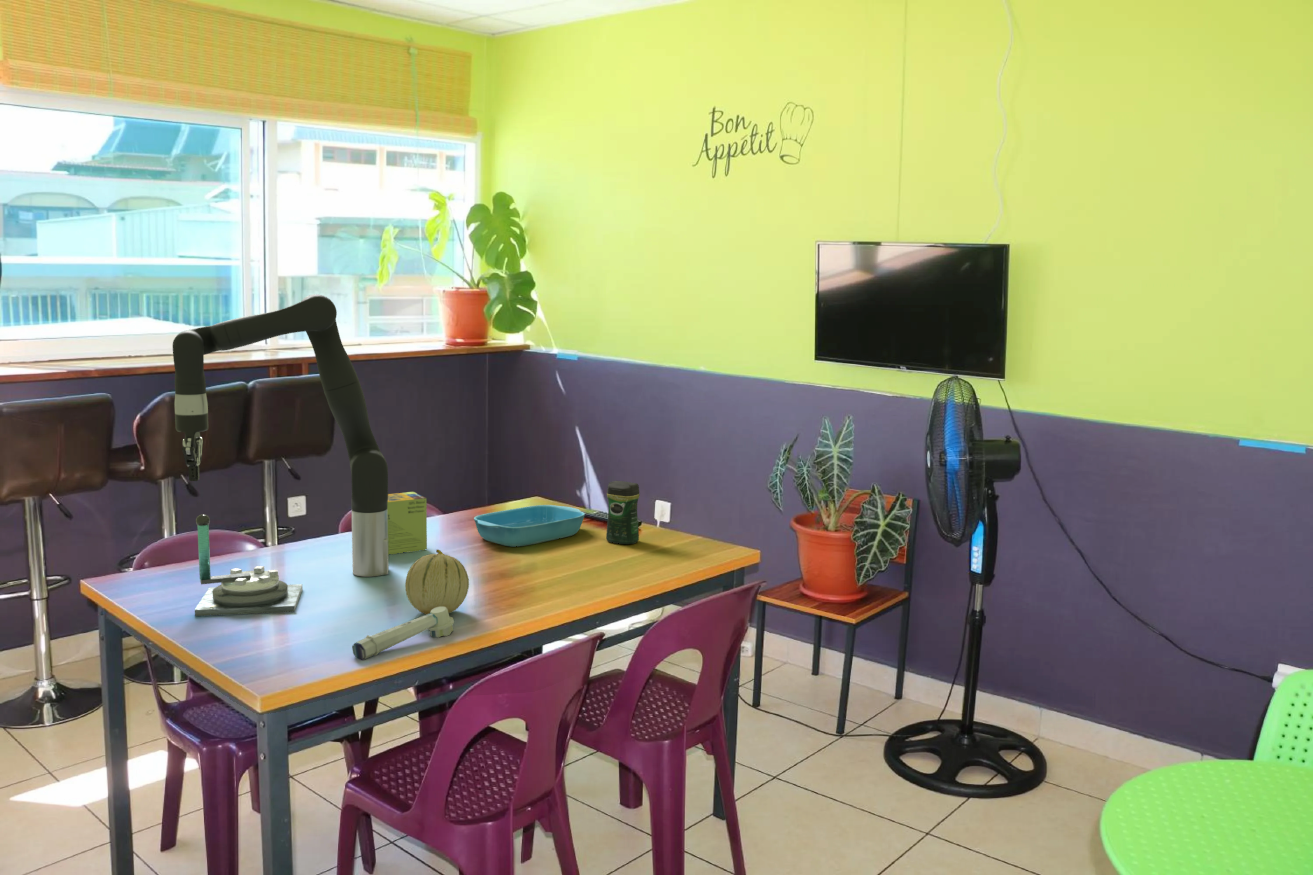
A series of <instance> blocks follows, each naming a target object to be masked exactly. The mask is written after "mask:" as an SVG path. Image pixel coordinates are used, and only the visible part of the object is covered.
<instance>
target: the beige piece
mask: <svg viewBox="0 0 1313 875" xmlns="http://www.w3.org/2000/svg"><path fill="white" fill-rule="evenodd" d="M454 623H455V621H454V617H451V616H450V613H448V609H447V608H446V607H436V608H434V609H432V610H431V611H430V614H424V615H422V616H419V617H417V618H415V619H411V620H408V621H406V622H404V623H401V624H398V625H396V626H392V627H390V628H388V629H386V630H383V631H382V630H381V631H380V632H378V633H375V634H371V635H370V634H369V635H368V634H367V635H366V636H365V637H364V638H363V639H360V640H358V641H356V642H354V643H353V645H352V647H351V650H352V654H353V656H354V658H356V659H357V660H360V661H363V660H366V659H369V658H371V657H373V656H374V657H376V656H378V654H380V653H381V652H383V651H386V650H388V649H389V648H392V647H393V646H396V645H398V644H400V643H402V642H404V641H406V640H409V639H410V638H412V637H414V636H417V635H420V634H421V633H423V632H426V631H427V630H428V632H429V636H430V637H433V638H440V637H443V636H444V637H448V636H450V635H451V633H452V632H454V627H453V625H454Z"/></svg>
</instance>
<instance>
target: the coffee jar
mask: <svg viewBox="0 0 1313 875" xmlns="http://www.w3.org/2000/svg"><path fill="white" fill-rule="evenodd" d="M640 494H641V493H640V487H639V484H638V483H637V482H630V481H624V480H614V481H610V482H608V485H607V490H606V498H607V503H608V509H607V510H608V511H607V512H608V513H607V522H606V524H607V525H606V534H605V536H606V538H605V539H606V541H607V542H609V543H612V542H613V544H618V543H619V544H620V545H629V544H633V545H634V544H636V543H637V542H638V541H639V540H640V532H639V519H638V518H639V517H638V501H639V498H640ZM619 544H618V545H619Z"/></svg>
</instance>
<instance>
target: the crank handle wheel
mask: <svg viewBox="0 0 1313 875" xmlns="http://www.w3.org/2000/svg"><path fill="white" fill-rule="evenodd" d="M210 522H211V520H210V517H209V515H207V514H203V513H202V514H199V515H198V516H196V518H195V523H196V525H197V546H198V547H197V548H198V567H199V568H198V570H199V582H200V585H210V584H218V583H219V584H220V585H221V590H222V592H223V593H224V594H227V595H232V596H254V595H261V594H266V593H269V592H272V591H275V590H276V589H278V588H279V581H280V576H279V571H278V569H269V570H265V566H263V565H261V566H260V565H256V566H255V567H253V570H246V571H245V570H244V571H243V569H241V568H238V567H235V568H232V569H229V570H230V571H229V573H230V574H222V575H213V576H211V555H210V554H211V553H210V552H211V551H210V532H209V530H210V529H209V528H210V527H209V526H210Z"/></svg>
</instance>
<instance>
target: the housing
mask: <svg viewBox="0 0 1313 875" xmlns="http://www.w3.org/2000/svg"><path fill="white" fill-rule="evenodd" d="M302 593H303V584H301V583H299V584H287V583H286V582H285V581H282V580H279V588H278V589H276V590H275V591H272V592H269V593H266V594H261V595H254V596H232V595H227V594H224V593H223V592H222V590H221V584H220V585H219V584H218V585H217V586H216V587H215V586H214V587H208V589H207V590H206V592H205V593H204V595H203V596H202V598H201V600H200V601H199V603H198V604H197V605H196V607H195V609H194V617H206V616H209V617H210V615H211V616H228V615H229V616H231V615H232V616H234V615H254V614H257V615H259V614H280V613H281V614H282V613H284V614H285V613H295V612H296V609H297V607H298V604H299V601H300V597H301V595H302Z"/></svg>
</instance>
